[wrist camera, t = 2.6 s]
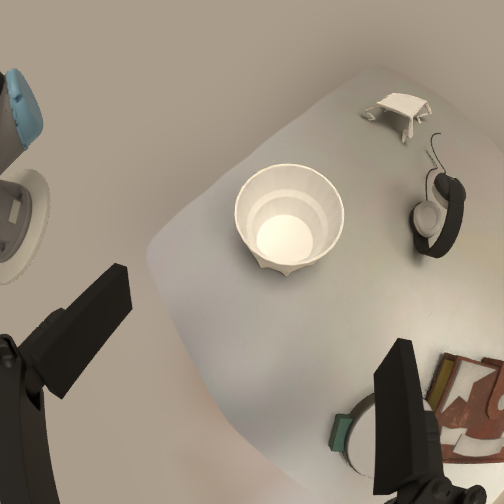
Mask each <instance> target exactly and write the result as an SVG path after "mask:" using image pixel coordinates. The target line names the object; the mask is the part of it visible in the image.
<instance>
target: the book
mask: <svg viewBox="0 0 504 504" xmlns="http://www.w3.org/2000/svg"><path fill="white" fill-rule="evenodd" d="M426 401H427V402H428V404H429V405H430V407H431V409H432V411H433V412H434V414H435V416H436V418H437V420H438V424H439V434H440V442H441V449H442V460H443V463H454V464H479V463H500V462H504V361H501V360H496V359H491V358H485V357H484V360H483V363H482V362H478V361H475V360H472V359H468V358H465V357H462V356H458V355H457V356H455V355H452V354H449V353H445V354H444V356H443V359H442V362H441V365H440V367H439V370H438V373H437V375H436V378H435V380H434V383H433V385H432V388H431V390H430V392H429V395H428V397H427V399H426Z"/></svg>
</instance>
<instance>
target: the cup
mask: <svg viewBox="0 0 504 504" xmlns="http://www.w3.org/2000/svg"><path fill="white" fill-rule="evenodd" d="M235 220H236V227H237V229H238V231H239V233H240V235H241V237H242V240H243V241H244V242H245V244H246V245H247V247H248V248H249V249H250V251H251V252H252V254H253V255H254V256H255V258H256V259H257V260H258V263H259V265H260V267H261V268H266V267H269V268H272V269H275V270H277V271H280V272H282V273H283V274H284V275H285V276H286V277H287V276H288V275H289V274H290V273H291V272H292V271H294V270H297V269H300V268H302V267H304V266H311V265H313V264H314V263H315V262H316V261H317V260H318V259H319V258H321V257H322V256H323V255H324V254H326V253H327V252H328V251H329V250H330V249H331V248H332V247H333V246H334V245H335V243H336V242H337V240H338V238H339V237H340V235H341V231H342V228H343V224H344V208H343V204H342V201H341V198H340V195H339V194H338V192H337V190H336V189H335V187H334V186H333V184H332V183H331V182H330V181H329V180H328V179H326V178H325V177H324V176H323V175H322V174H320V173H318V172H317V171H315V170H313V169H311V168H308V167H305V166H302V165H296V164H280V165H273V166H270V167H268V168H265V169H263V170H260V171H259V172H258V173H256V174H255V175H253V176H252V177H251V178H249V180H248V181H247V182H246V183H245V184H244V186H243V187H242V188H241V190H240V193H239V195H238V197H237V199H236V205H235Z"/></svg>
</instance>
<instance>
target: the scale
mask: <svg viewBox="0 0 504 504" xmlns="http://www.w3.org/2000/svg"><path fill="white" fill-rule="evenodd" d="M422 398H423V397H422ZM423 405H424V410H429V411H432V409H431V407H430V405H429V404H428V402H427V401H426V400H425V399H424V398H423ZM329 447H330V449H331V451H342V452H343V454H344V456H345V458H346V460H347V461H348V463H349V464H350V466H351V467H352V468H353V469H354V470H355V471H356V472H358V473H359V474H361V475H364V476H367V477H370V478H374V470H375V393H373V394H371V395H370V396H368V397H367V398H365V399H364V400H362V401H361V402H360V403H359V404H358V405H357V406H356V407H355V408H354V409H353V410H352V412H351V413H350V414H349V415H344V414H337V415H336V419H335V423H334V427H333V430H332V434H331V438H330V442H329Z"/></svg>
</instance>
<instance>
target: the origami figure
mask: <svg viewBox="0 0 504 504" xmlns="http://www.w3.org/2000/svg"><path fill="white" fill-rule="evenodd" d="M384 97H385V99H383V100H382V101H380V102H376V104H375V105H374V106H372V107H369V108H367V109H364V111H365V112H366V113H367V114H369V115H370V116H371V117H372V118H370V119H368V120H369V121H370V120H374V119H376V118H375V117H374V116H373V115H372V114H371V113H369V112H368V111H369V110H372V109H374V108H377V107H382V108H385V109H386V110H385V111H383V112H386V111H388V110H391V111H394V112H396V113H399V114H401V115H403V116H405V117H408V118H409V132H408V131H406V130H404V131H403V135H402V142H403V143H404V142H405V139H406V135H407V136H408V137H409V138H410V139H411V137H412V136H413V117H414V116H415V115H416V113H417V112H418V111H419V110H420V109H421V108H422V107H423V105H424V106H425V107H426V108H427V110H428V111H429V112H427V113H424V114H421V115H419V116H417V120H418V123H419V124H421V121H420V118H419V117H421V116H425V115H428V114H432V111H431V109H430V107H429V105H428V103H429V102H427V101H426V100H423V99H420V98H417V97H414V96H412V95H406V94H398V93H392V94H391V95H387V96H384Z"/></svg>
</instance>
